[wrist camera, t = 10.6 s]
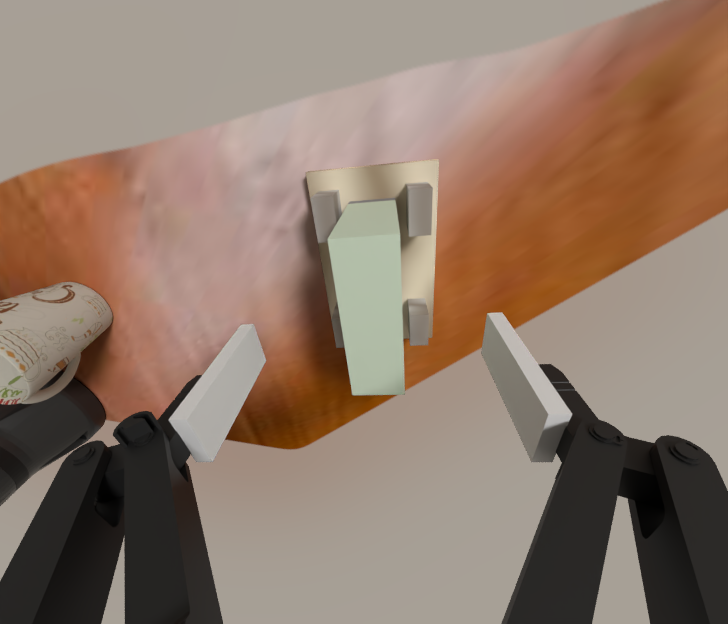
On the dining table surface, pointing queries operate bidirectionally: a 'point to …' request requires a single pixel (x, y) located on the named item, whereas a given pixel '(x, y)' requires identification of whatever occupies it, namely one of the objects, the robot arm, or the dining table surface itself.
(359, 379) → the door panel
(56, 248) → the dining table surface
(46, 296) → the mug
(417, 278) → the hinge bracket
